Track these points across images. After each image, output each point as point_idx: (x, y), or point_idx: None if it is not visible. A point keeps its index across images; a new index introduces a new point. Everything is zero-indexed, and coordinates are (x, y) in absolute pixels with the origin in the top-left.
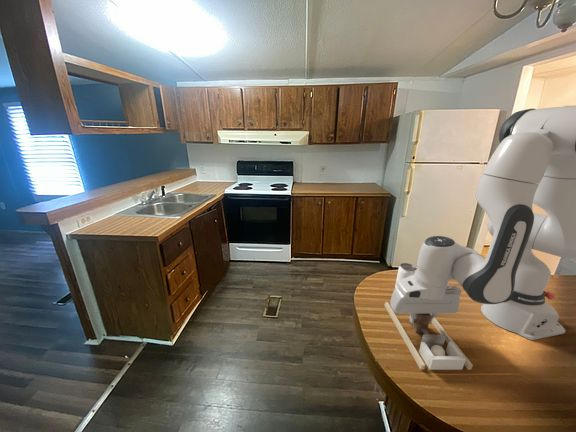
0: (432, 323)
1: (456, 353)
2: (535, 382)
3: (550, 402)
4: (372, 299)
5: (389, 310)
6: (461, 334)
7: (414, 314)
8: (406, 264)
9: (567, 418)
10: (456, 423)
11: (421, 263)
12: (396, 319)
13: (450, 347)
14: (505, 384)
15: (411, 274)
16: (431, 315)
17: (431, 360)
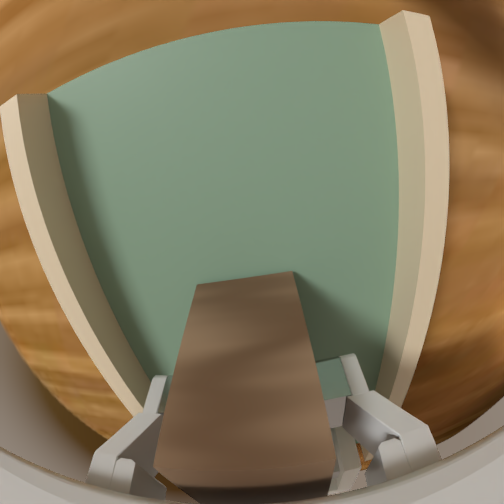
0: (397, 258)
1: (337, 481)
2: (495, 386)
3: (471, 415)
4: (6, 39)
5: (27, 210)
6: (491, 274)
7: (161, 494)
8: None
9: (463, 428)
10: None
11: None
12: (76, 321)
13: (340, 464)
14: (432, 419)
15: None
16: (367, 439)
17: None
